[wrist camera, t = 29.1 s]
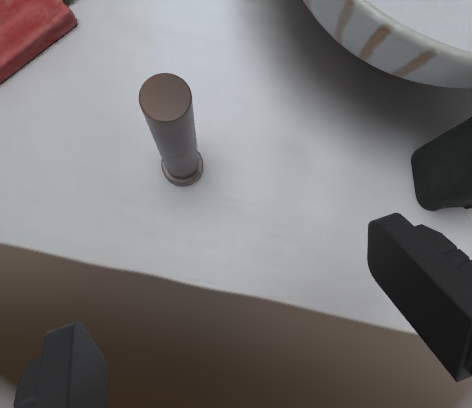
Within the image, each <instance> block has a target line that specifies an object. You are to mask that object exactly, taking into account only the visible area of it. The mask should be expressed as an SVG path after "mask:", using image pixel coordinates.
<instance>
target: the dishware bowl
mask: <svg viewBox="0 0 472 408" xmlns="http://www.w3.org/2000/svg"><path fill="white" fill-rule="evenodd" d="M303 1H304V2H305V4H306V6H307V7H308V9H309V10H310V11H311V13H312V14H313V15H314V17H315V18H316V19H317V21H318V22H319V23H320V24H321V25H322V26H323V28H324V29H325V30H326V31H327V32H328V33H329V34H330V35H331V36H332V37H333V38H334V39H335V40H336V41H337V42H339V43H340V44H341V45H342V46H343V47H344V48H346V49H347V50H348V51H350V52H351V53H353V54H354V55H355V56H357V57H358V58H360V59H362V60H363V61H365V62H366V63H368V64H370V65H372V66H374V67H376V68H378V69H380V70H382V71H385V72H387V73H389V74H392V75H395V76H397V77H400V78H403V79H407V80H410V81H414V82H418V83H423V84H428V85H433V86H441V87H449V88H466V89H472V0H303Z"/></svg>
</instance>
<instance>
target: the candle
mask: <svg viewBox="0 0 472 408" xmlns="http://www.w3.org/2000/svg"><path fill="white" fill-rule="evenodd" d="M412 169H413V176H414V183H415V190H416V197H417V200H418V202H419V204H420V205H421V206H422V207H423V208H425V209H427V210H432V211H435V210H438V209H442V208H447V207H464V208H465V209H469V208H472V117H471V118H469V119H468V120H466V121H464V122H463V123H461V124H459V125H458V126H456V127H454V128H453V129H451V130H449V131H448V132H446V133H444V134H442V135H441V136H439V137H437V138H436V139H434V140H432V141H431V142H429V143H427V144H426V145H424V146H422V147H421V148H419V149H417V150H416V151H415V152H414V154H413V155H412Z"/></svg>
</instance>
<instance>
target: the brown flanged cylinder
mask: <svg viewBox="0 0 472 408" xmlns="http://www.w3.org/2000/svg"><path fill="white" fill-rule="evenodd" d="M139 103H140V106H141V109H142V111H143V114H144V116H145V118H146V121H147V123H148V126H149V128H150V130H151V133H152V135H153V138H154V140H155V142H156V145H157V147H158V150H159V152H160V154H161V157H162V170H163V172H164V174H165V176H166V178H167V179H168V180H169V181H170V182H171V183H173V184H175V185H178V186H188V185H191V184H193V183H194V182H196V181H197V180H198V179H199V177H200V176H201V174H202V170H203V162H202V157H201V155H200V153H199V152H198V151H197V143H196V133H195V123H194V113H193V104H192V95H191V90H190V88H189V86H188V84H187V83H186V82H185V81H184V80H183V79H182V78H180V77H178V76H176V75H174V74H169V73H161V74H157V75H154V76H152V77H150V78H149V79H148V80H147V81H146V82H145V83H144V84H143V85H142V87H141V89H140V92H139Z"/></svg>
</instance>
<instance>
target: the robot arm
mask: <svg viewBox="0 0 472 408" xmlns="http://www.w3.org/2000/svg"><path fill="white" fill-rule="evenodd" d="M367 261H368V266H369V269H370V272H371V274H372V276H373V278H374V279H375V281H376V282H377V283H378V285H379V286H380V287H381V288H382V290H383V291H384V292H385V293H386V295H387V296H388V297H389V298H390V300H391V301H392V302H393V303H394V305H395V306H396V307H397V308H398V310H399V311H400V312H401V313H402V315H403V316H404V317H405V318H406V320H407V321H408V322H409V323H410V324H411V326H412V327H413V328H414V329H415V331H416V332H417V333H418V334H419V336H420V337H421V338H422V339H423V341H424V342H425V343H426V344H427V346H428V347H429V348H430V349H431V351H432V352H433V353H434V354H435V356H436V357H437V358H438V359H439V361H440V362H441V363H442V364H443V366H444V367H445V368H446V369H447V371H448V372H449V373H450V374H451V376H452V377H453V378H454V379H455V381H456V382H459V381H461V380H464V379H466V378H468V377H471V376H472V260H470V259H469V257H468V256H467V255H466V254H465V253H464V252H462V251H461V250H460V249H457V246H456V245H454V244H453V243H452V242H451V241H450V240H449V239H447V238H446V237H445V236H444V235H443V234H442V233H440V232H438V231H435V230H433V229H431V228H429V227H426V226H424V225H422V224H420V225H418V226H415V227H414V226H413V225H412V224H411V223H410V222H409V221H408V220H407V219H405V218H404V217H403V216H402V215H401V214H399V213H393V214H390V215H387V216H385V217H382V218H379V219H376V220H373V221H371V222H370V223H369V225H368V254H367ZM14 408H109V374H108V368H107V364H106V361H105V358H104V356H103V354H102V352H101V351H100V349H99V348H98V346H97V345H96V344H95V342H94V341H93V339H92V338H91V336H90V335H89V333H88V332H87V330H86V329H85V328H84V326H83V325H82V324H81V323H80V322H79V321H77V322H74V323H71V324H68V325H66V326H62V327H60V328H57V329H54V330H51V331H48V332H47V333H46V334H45V337H44V343H43V350H42V357H39V358H36V359H34V360H30V362H29V364H28V365H27V367H26V369H25V371H24V373H23V375H22V376H21V378H20V380H19V382H18V385H17V390H16V395H15V400H14Z"/></svg>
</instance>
